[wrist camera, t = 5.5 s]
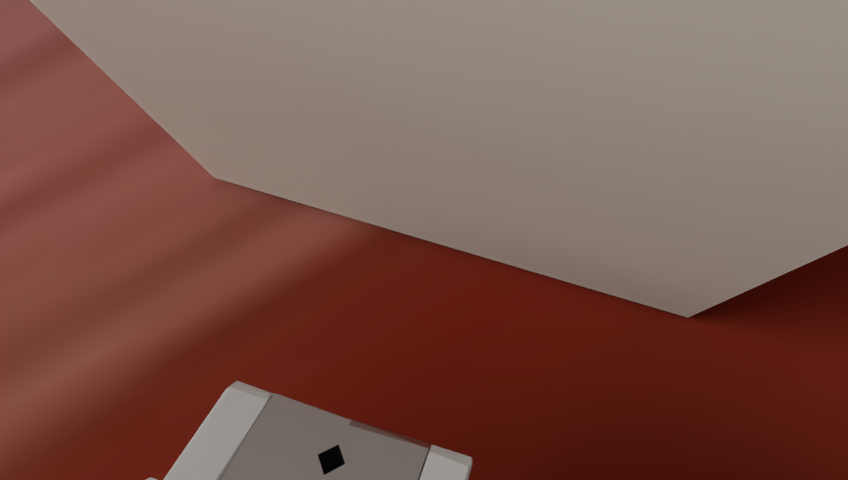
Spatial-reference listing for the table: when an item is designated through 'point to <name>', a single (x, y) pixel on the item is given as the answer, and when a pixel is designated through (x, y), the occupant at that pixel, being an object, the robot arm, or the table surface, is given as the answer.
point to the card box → (517, 124)
